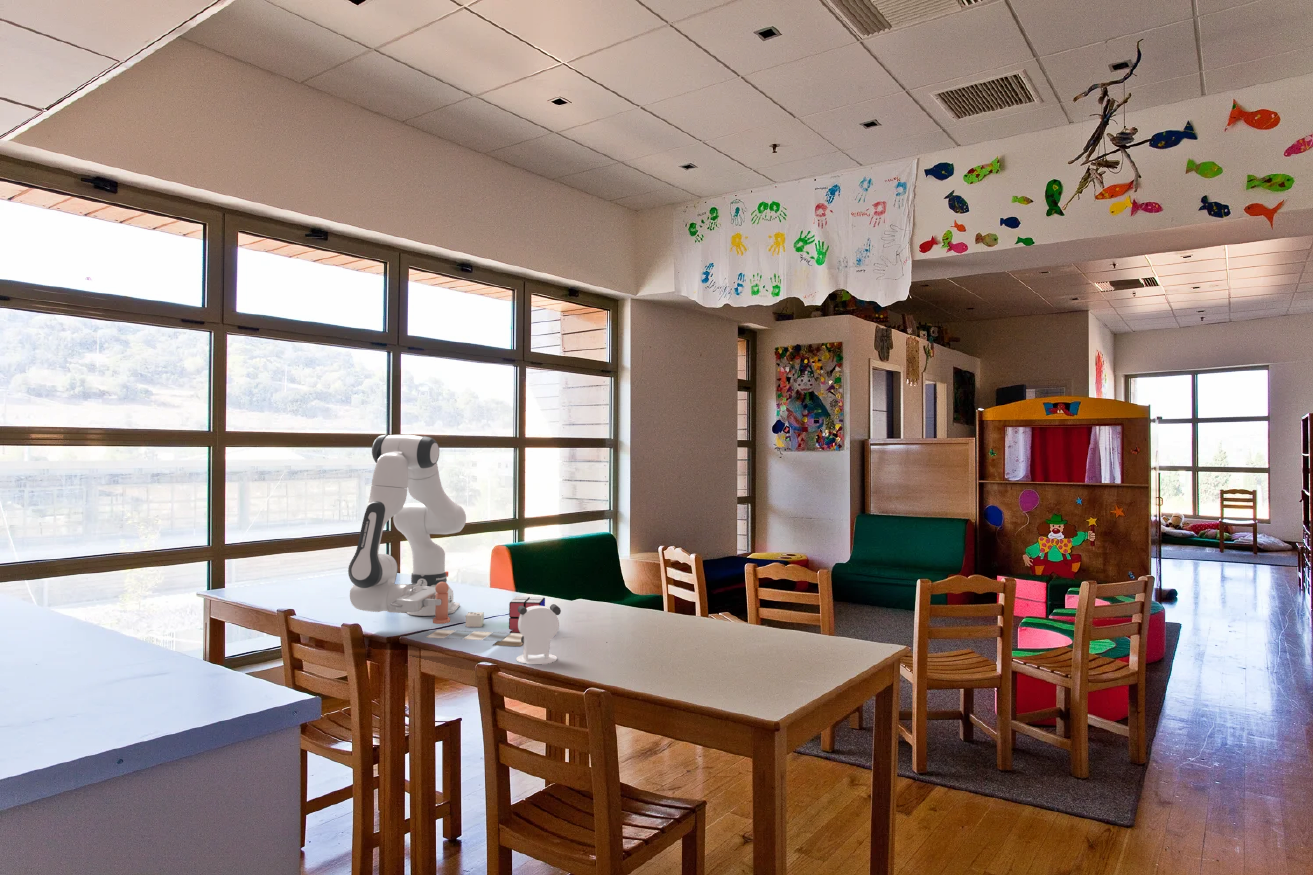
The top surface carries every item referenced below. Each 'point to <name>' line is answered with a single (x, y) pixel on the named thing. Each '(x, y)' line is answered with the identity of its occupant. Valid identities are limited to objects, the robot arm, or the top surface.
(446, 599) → the dildo
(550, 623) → the panda figurine
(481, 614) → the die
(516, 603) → the puzzle cube
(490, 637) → the track
